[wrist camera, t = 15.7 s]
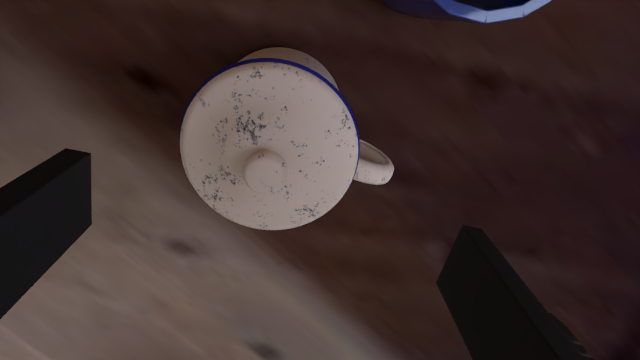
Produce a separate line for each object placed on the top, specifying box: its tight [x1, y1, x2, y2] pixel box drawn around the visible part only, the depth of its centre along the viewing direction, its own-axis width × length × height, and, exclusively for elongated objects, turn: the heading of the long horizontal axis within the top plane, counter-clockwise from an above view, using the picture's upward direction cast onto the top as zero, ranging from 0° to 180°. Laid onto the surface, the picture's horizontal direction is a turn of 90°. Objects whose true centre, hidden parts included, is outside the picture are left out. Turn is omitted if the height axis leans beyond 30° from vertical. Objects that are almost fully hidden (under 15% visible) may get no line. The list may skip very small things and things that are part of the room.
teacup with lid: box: [180, 47, 394, 230], centre depth 22 cm, size 12×9×12 cm
